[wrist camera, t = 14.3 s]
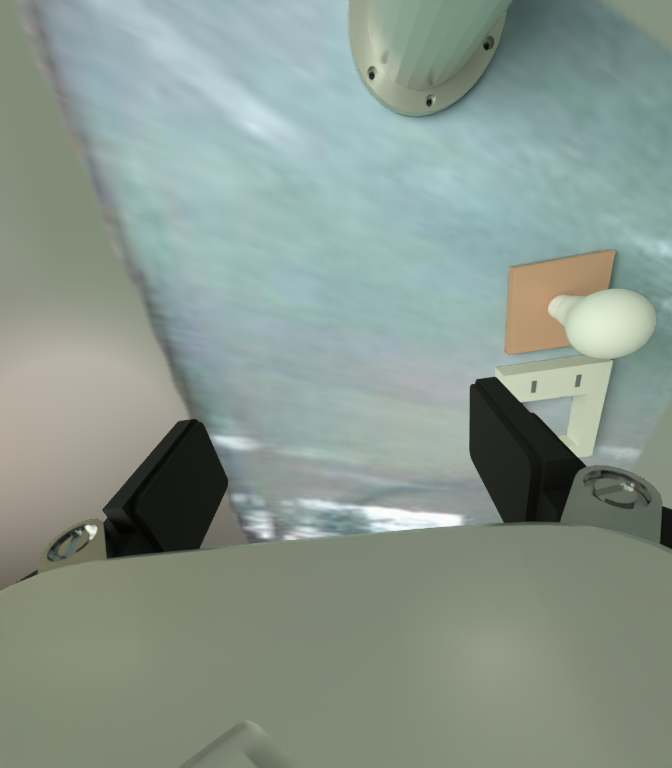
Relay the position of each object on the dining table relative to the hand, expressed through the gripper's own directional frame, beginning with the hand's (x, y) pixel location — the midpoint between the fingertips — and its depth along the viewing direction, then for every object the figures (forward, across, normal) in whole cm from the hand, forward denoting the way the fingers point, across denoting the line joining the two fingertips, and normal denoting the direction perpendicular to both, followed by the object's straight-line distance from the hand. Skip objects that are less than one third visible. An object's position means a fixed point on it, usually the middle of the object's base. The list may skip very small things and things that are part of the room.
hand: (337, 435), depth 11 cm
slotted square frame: (+28, -23, +20) cm, 42 cm away
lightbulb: (+28, -23, +6) cm, 36 cm away
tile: (+28, -23, +6) cm, 37 cm away
